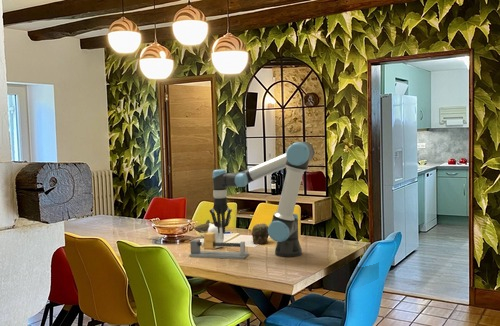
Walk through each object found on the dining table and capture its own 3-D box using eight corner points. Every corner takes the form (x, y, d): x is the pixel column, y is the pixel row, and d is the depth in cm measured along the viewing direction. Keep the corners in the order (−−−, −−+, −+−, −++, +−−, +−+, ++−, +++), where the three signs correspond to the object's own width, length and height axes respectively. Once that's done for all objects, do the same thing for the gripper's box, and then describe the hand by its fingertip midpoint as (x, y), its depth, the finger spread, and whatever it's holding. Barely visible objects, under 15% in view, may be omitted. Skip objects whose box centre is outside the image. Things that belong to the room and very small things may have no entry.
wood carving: (235, 231, 354) (235, 215, 353) (199, 239, 327) (199, 222, 327) (226, 229, 360) (226, 214, 359) (190, 238, 333) (189, 221, 333)
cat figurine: (204, 248, 303) (203, 224, 302) (217, 244, 313) (216, 220, 312) (216, 250, 298) (215, 225, 297) (229, 245, 308) (227, 221, 307)
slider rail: (248, 254, 285) (248, 239, 284) (244, 259, 275) (243, 243, 275) (195, 252, 293) (195, 238, 292) (189, 256, 283) (188, 242, 283)
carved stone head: (273, 242, 314) (272, 223, 313) (261, 245, 306) (260, 226, 305) (260, 240, 321) (259, 221, 321) (248, 243, 313) (247, 224, 313)
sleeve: (215, 247, 287) (215, 232, 286) (212, 249, 282) (212, 234, 281) (207, 247, 288) (206, 232, 288) (204, 249, 283) (203, 234, 283)
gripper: (233, 196, 283) (234, 237, 285) (211, 196, 287) (213, 237, 288) (229, 198, 276) (231, 240, 278) (206, 198, 279) (208, 240, 281)
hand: (221, 238), depth 283 cm, fingers closed
